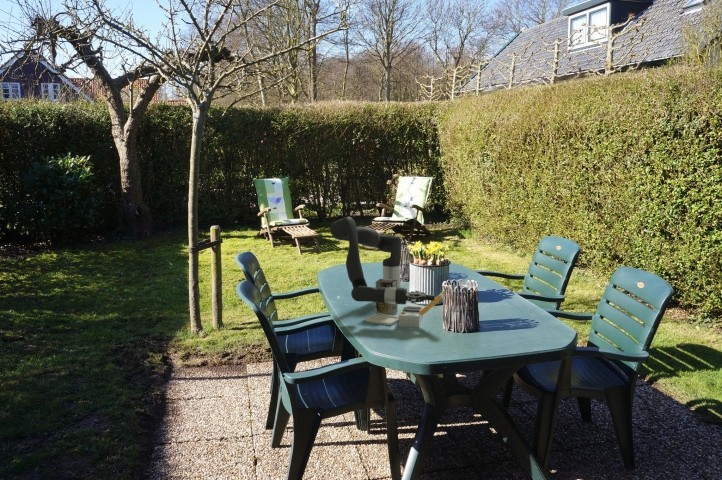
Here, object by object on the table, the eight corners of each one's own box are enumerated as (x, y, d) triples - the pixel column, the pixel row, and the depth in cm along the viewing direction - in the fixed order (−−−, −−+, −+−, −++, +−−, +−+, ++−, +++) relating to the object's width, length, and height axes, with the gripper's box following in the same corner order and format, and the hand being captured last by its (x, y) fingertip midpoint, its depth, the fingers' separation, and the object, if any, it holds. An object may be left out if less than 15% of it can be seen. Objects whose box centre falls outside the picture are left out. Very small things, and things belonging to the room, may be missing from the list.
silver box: (403, 317, 265) (403, 305, 264) (422, 318, 263) (422, 306, 262) (398, 326, 252) (398, 313, 251) (419, 327, 250) (419, 314, 249)
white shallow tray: (377, 315, 269) (377, 312, 269) (402, 319, 262) (402, 317, 261) (365, 321, 260) (365, 318, 260) (391, 325, 253) (391, 323, 253)
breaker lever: (419, 310, 254) (446, 288, 250) (422, 314, 254) (449, 291, 250) (419, 312, 251) (445, 290, 247) (421, 316, 251) (448, 293, 247)
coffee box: (398, 312, 274) (397, 279, 271) (393, 315, 268) (393, 282, 265) (380, 310, 277) (380, 278, 275) (375, 313, 272) (375, 281, 269)
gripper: (393, 291, 247) (432, 293, 243) (398, 284, 260) (436, 286, 256) (393, 307, 248) (432, 310, 244) (398, 299, 261) (435, 302, 257)
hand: (434, 297), depth 250 cm, fingers closed
